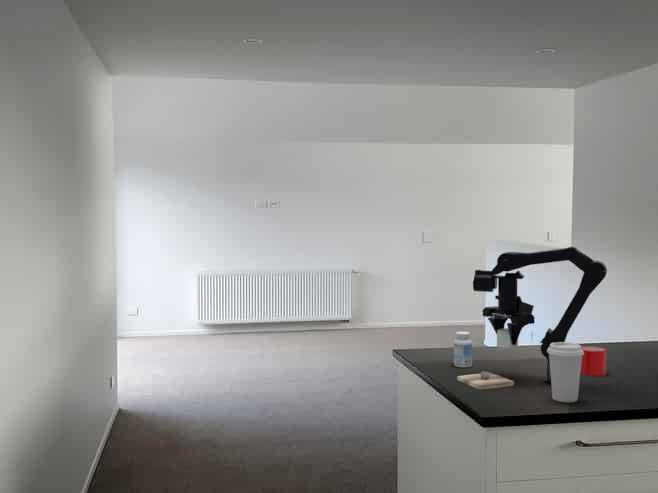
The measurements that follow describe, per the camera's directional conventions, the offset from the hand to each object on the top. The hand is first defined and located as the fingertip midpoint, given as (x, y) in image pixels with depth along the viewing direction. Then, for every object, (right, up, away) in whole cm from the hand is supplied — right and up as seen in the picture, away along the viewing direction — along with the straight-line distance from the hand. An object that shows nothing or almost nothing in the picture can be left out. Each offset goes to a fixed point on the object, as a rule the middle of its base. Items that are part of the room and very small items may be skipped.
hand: (507, 342), depth 201 cm
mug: (+27, -11, +7) cm, 30 cm away
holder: (-8, -11, -5) cm, 15 cm away
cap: (0, -1, 0) cm, 1 cm away
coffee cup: (+10, -12, -23) cm, 27 cm away
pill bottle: (-10, -10, +17) cm, 22 cm away
